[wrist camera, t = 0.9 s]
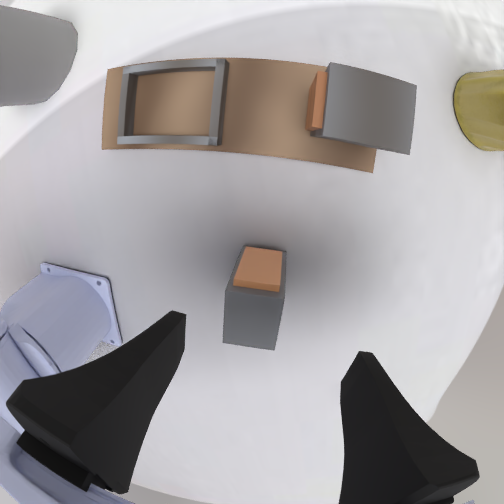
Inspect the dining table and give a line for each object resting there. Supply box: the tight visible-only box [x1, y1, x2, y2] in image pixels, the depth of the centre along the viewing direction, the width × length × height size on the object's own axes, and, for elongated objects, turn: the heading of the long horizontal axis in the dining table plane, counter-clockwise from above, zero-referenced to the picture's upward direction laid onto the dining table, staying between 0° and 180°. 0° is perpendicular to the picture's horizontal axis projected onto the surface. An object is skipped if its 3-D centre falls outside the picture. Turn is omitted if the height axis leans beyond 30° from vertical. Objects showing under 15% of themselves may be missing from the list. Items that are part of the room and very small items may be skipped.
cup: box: [0, 5, 78, 107], centre depth 10 cm, size 8×8×10 cm
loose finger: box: [223, 246, 286, 350], centre depth 17 cm, size 4×3×6 cm
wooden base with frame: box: [102, 58, 417, 173], centre depth 12 cm, size 18×6×7 cm, turn 85°
